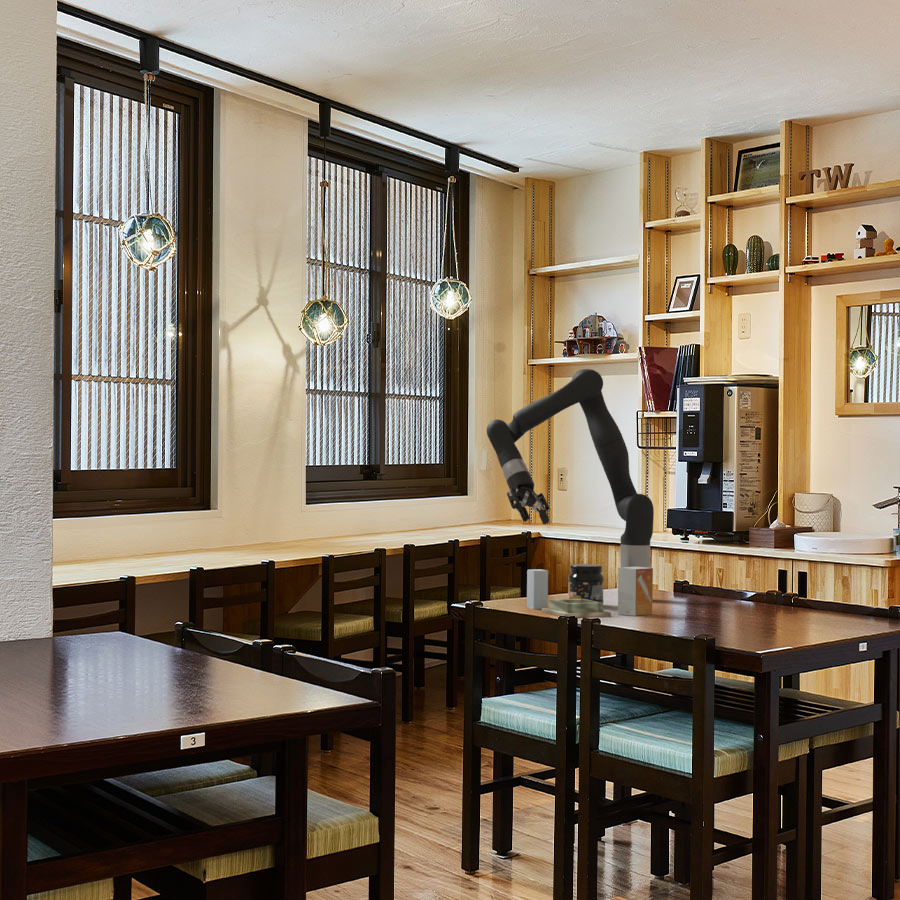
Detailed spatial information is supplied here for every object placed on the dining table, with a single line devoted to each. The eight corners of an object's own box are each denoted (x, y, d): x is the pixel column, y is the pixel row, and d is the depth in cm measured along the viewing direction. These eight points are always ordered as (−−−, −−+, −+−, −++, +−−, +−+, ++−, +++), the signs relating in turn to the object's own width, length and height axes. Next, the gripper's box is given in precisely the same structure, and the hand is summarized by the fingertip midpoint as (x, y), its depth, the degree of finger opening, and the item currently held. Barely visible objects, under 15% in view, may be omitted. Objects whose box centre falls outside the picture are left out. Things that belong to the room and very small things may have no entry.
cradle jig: (585, 610, 312) (585, 598, 312) (610, 616, 299) (610, 603, 299) (541, 611, 307) (541, 599, 307) (565, 617, 294) (565, 604, 294)
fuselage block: (540, 607, 319) (541, 569, 319) (547, 608, 315) (548, 570, 315) (526, 607, 317) (527, 569, 318) (533, 609, 313) (534, 570, 314)
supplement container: (561, 604, 327) (561, 564, 327) (591, 603, 331) (592, 563, 332) (579, 608, 317) (579, 566, 318) (610, 607, 322) (610, 566, 322)
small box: (635, 616, 299) (636, 568, 299) (617, 614, 304) (617, 567, 304) (653, 614, 305) (653, 567, 305) (634, 612, 309) (635, 566, 310)
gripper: (509, 467, 325) (528, 512, 317) (541, 473, 335) (561, 517, 326) (493, 481, 329) (512, 526, 321) (526, 486, 339) (544, 530, 330)
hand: (536, 521), depth 324 cm, fingers open, 8 cm apart
